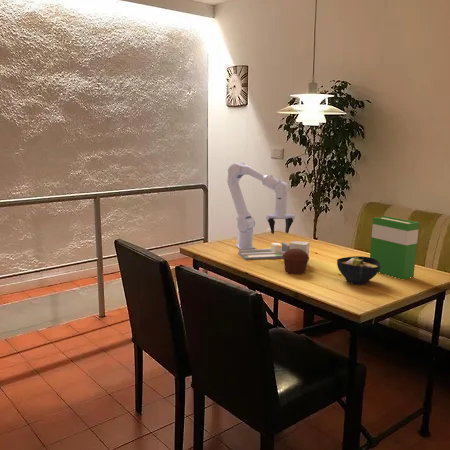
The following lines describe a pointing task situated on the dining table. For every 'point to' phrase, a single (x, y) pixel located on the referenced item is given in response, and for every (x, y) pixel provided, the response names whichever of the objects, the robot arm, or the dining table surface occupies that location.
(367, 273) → the bowl
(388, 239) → the hardback book
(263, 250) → the gauge board
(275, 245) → the gauge slider
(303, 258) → the muffin
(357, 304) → the dining table surface
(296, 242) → the small box
